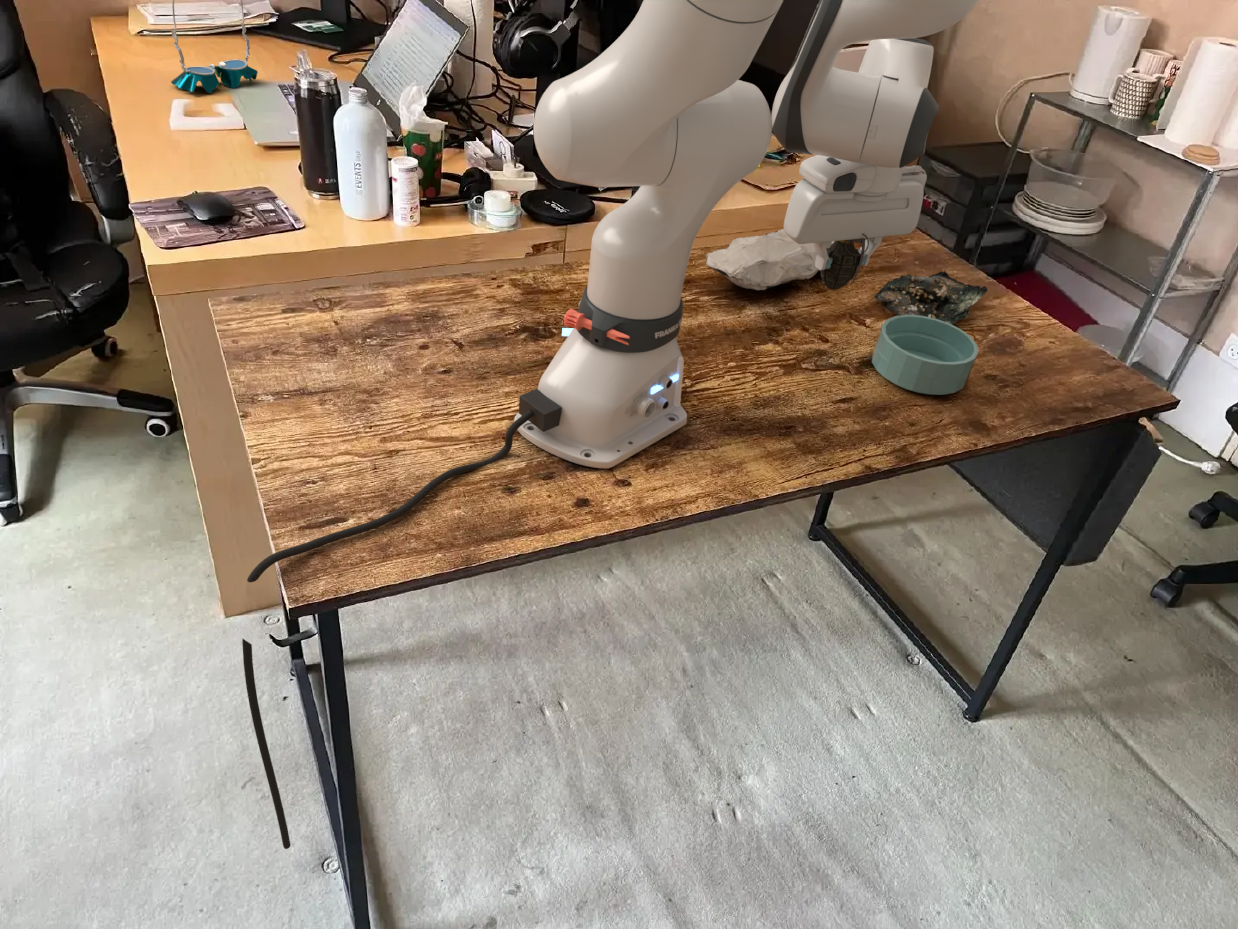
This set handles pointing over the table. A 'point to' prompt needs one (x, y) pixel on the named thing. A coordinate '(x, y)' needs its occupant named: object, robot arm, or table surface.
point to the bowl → (924, 354)
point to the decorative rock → (930, 296)
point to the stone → (764, 260)
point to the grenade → (843, 263)
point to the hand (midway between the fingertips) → (840, 266)
